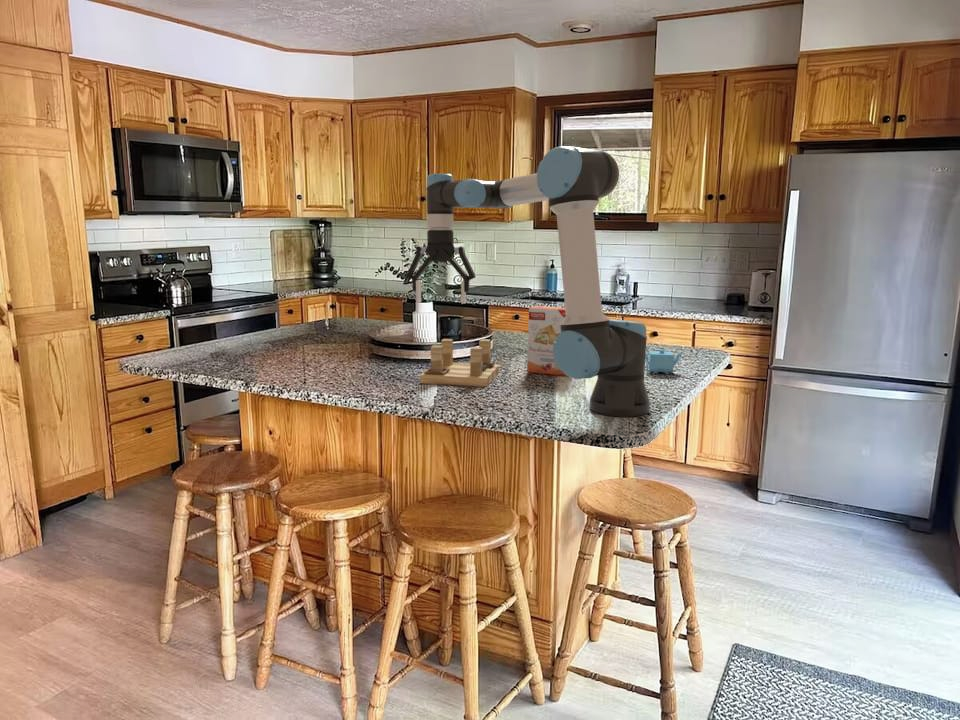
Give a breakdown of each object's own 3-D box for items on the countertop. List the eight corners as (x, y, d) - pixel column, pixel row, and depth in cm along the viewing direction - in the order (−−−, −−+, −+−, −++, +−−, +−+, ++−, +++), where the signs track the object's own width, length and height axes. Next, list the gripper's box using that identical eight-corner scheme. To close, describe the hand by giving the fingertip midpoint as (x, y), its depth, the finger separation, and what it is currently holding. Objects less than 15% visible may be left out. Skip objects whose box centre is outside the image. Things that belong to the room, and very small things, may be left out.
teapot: (682, 371, 229) (683, 348, 228) (683, 375, 224) (685, 352, 222) (643, 370, 232) (645, 347, 230) (644, 374, 226) (645, 350, 224)
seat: (486, 386, 207) (487, 351, 205) (420, 383, 211) (420, 348, 209) (499, 372, 226) (499, 339, 224) (438, 369, 230) (438, 337, 228)
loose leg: (440, 373, 212) (440, 347, 210) (430, 373, 212) (430, 347, 211) (443, 371, 215) (443, 345, 213) (433, 371, 215) (433, 345, 214)
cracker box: (526, 373, 226) (528, 307, 222) (532, 369, 231) (533, 305, 227) (569, 376, 221) (571, 309, 216) (574, 373, 226) (576, 307, 222)
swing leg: (483, 371, 213) (483, 345, 212) (473, 371, 214) (473, 344, 212) (490, 364, 224) (490, 339, 222) (481, 364, 224) (481, 339, 223)
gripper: (485, 229, 207) (485, 302, 211) (402, 229, 212) (404, 300, 216) (480, 229, 200) (480, 305, 204) (394, 229, 204) (396, 303, 208)
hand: (441, 303), depth 210 cm, fingers open, 13 cm apart
